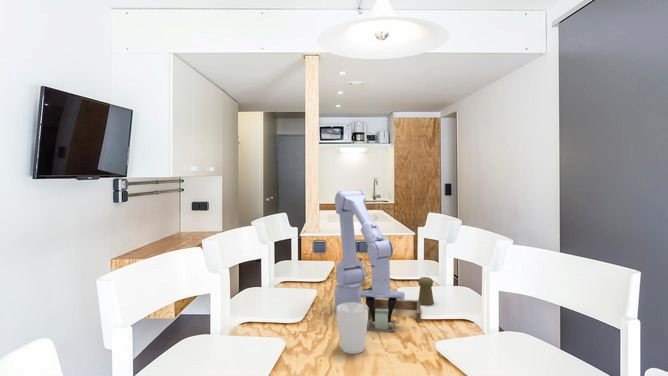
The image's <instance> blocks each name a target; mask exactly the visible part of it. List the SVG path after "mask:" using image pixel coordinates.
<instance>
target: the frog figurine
mask: <svg viewBox="0 0 668 376" xmlns="http://www.w3.org/2000/svg"><path fill="white" fill-rule="evenodd" d="M358 260H359V261H361V262H362V257H359V258H358ZM354 267H356V266H354ZM363 268H364V271H365V272H366V269H365V267H364V266H363ZM365 277H368V274H367V273H365ZM369 279H372V276H371V277H368V278H367V279H366V278H365V280H364V282H363V283H362V285H361V290H369V289H370V288H372V281H368V280H369Z"/></svg>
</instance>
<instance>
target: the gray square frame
mask: <svg viewBox="0 0 668 376" xmlns="http://www.w3.org/2000/svg"><path fill="white" fill-rule="evenodd" d="M390 323H391V324H392V323H393V324H392V329H380V328H371V326H372V324H373V320H372V319H369V323H368V324H367V331H366V332H379V333H395V330H396V323H397V321H396V319H391V322H390Z"/></svg>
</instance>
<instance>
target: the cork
mask: <svg viewBox="0 0 668 376" xmlns="http://www.w3.org/2000/svg"><path fill="white" fill-rule="evenodd" d="M417 283H418V286H419V294H418V299H417V301H420V306H424V307H425V306H426V307H431V306H433V305H434V304H435V302H434V301H435V300H434V295H433V290H432V287H433V284H434V282H433V279H432V278H431V277H429V276H428V277H427V276H422V277H420V278H419V279H418V282H417Z"/></svg>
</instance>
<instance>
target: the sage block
mask: <svg viewBox="0 0 668 376" xmlns="http://www.w3.org/2000/svg"><path fill="white" fill-rule="evenodd" d="M389 325H390V323H389V322H388V310H381V309H376V312H375V322H374V329H387V330H389Z"/></svg>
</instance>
